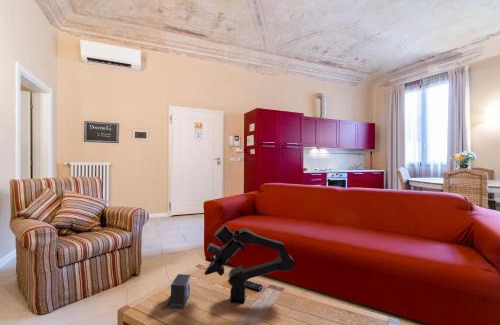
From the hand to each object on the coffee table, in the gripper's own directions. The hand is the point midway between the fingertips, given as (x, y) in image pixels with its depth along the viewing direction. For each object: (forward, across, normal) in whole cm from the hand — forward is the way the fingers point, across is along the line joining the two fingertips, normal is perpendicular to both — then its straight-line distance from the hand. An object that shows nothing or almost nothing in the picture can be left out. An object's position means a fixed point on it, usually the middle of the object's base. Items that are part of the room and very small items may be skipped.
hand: (205, 273), depth 118 cm
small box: (+17, 0, +1) cm, 17 cm away
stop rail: (+20, -1, -2) cm, 20 cm away
